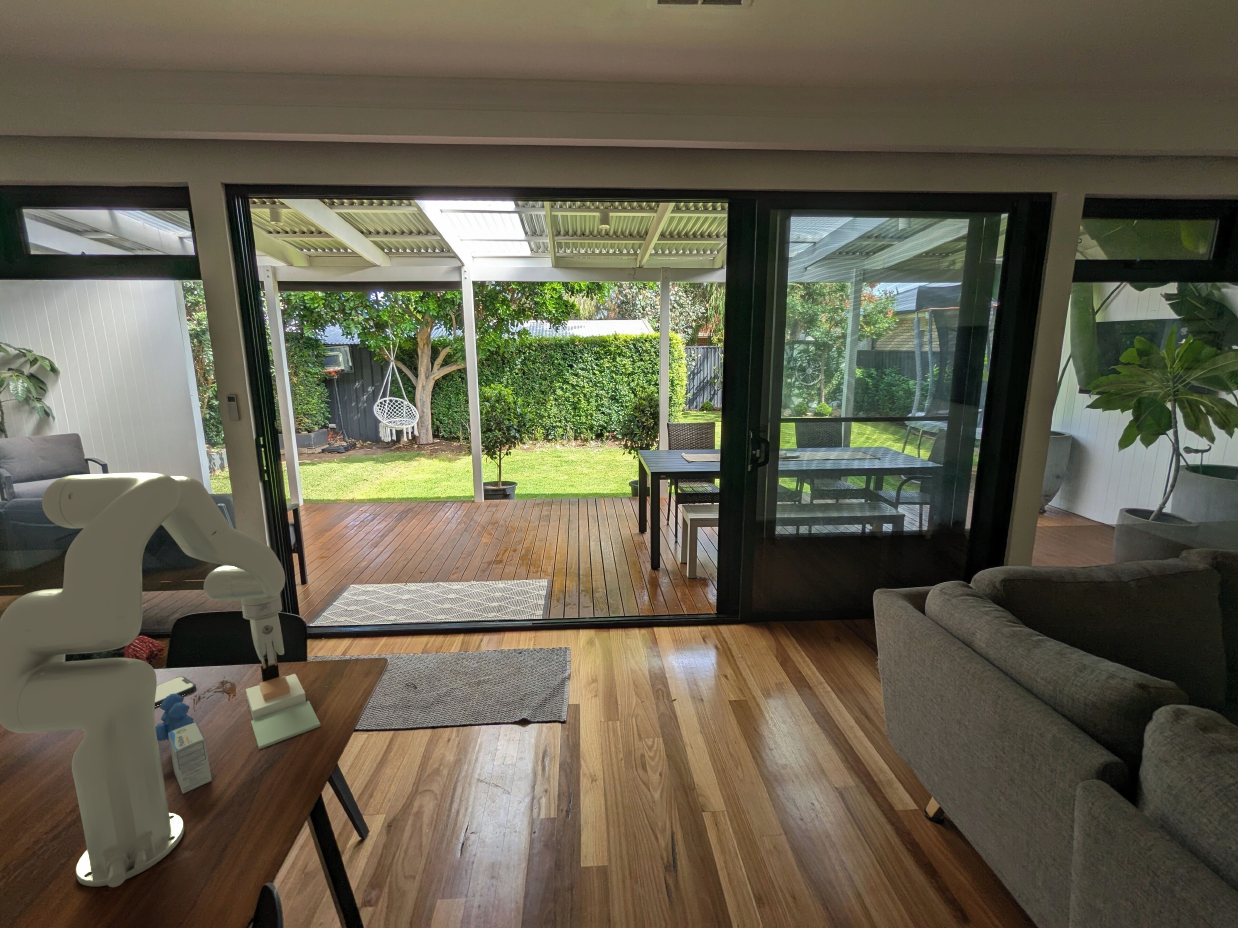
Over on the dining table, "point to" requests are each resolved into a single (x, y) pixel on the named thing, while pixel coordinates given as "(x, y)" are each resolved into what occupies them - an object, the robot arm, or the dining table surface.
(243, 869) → the dining table surface
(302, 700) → the plate
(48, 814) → the dining table surface
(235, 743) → the dining table surface
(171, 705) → the grapes
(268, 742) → the mat
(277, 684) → the tile
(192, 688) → the smartphone
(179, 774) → the medicine box
